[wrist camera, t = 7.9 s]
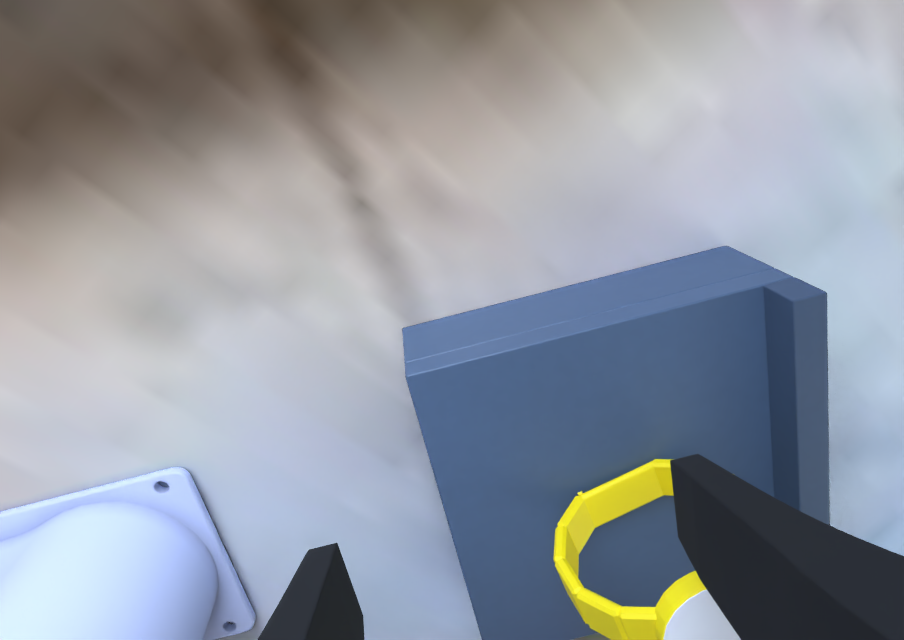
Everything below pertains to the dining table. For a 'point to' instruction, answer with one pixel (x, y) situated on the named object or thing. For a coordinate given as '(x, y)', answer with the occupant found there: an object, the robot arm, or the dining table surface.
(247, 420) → the dining table surface
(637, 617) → the watch
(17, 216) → the dining table surface
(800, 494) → the blue stand
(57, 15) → the dining table surface
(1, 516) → the robot arm
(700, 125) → the dining table surface
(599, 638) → the coffee cup
